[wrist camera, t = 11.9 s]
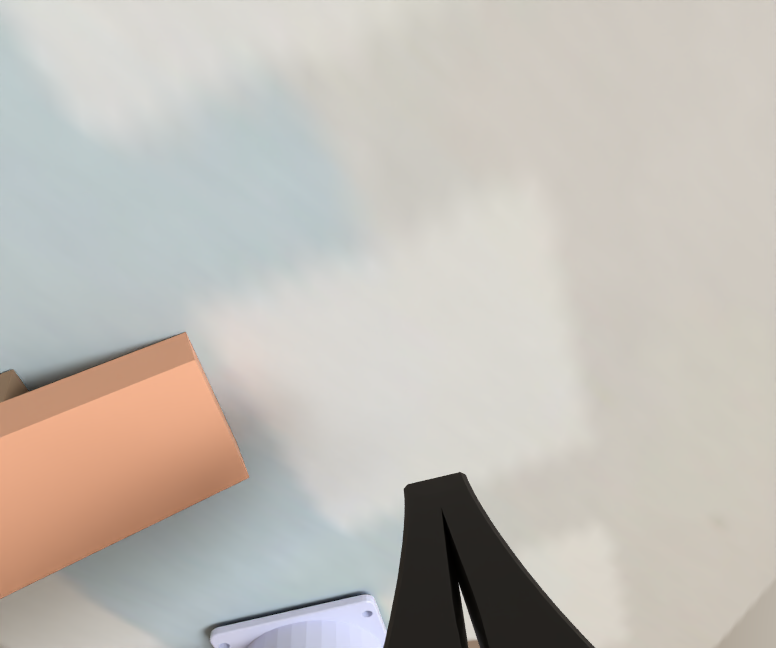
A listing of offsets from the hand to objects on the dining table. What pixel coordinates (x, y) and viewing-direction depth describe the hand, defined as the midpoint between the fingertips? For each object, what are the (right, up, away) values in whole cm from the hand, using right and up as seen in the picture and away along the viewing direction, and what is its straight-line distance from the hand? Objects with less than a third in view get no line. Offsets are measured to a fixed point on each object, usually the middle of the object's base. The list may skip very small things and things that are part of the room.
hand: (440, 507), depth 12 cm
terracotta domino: (-7, +1, +5) cm, 9 cm away
